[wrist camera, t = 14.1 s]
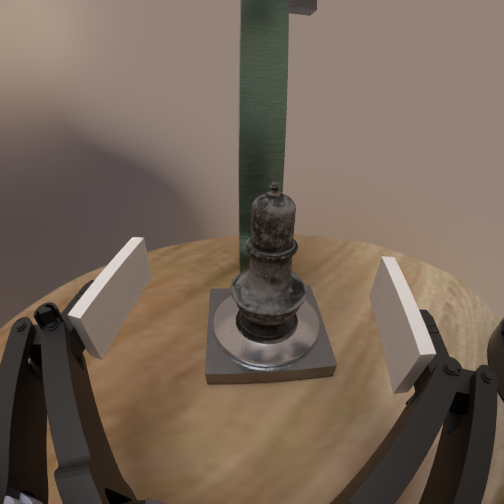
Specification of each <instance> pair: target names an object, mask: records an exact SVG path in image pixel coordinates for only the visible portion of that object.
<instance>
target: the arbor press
mask: <svg viewBox="0 0 504 504" xmlns="http://www.w3.org/2000/svg"><path fill="white" fill-rule="evenodd" d="M316 10H317V0H240V40H239V266H240V273H242V272H243V271H245V270H248V269H249V268H250V253H249V252H248V251H247V249H246V242H247V240H248V239H249V238H250V237H251V218H252V204H253V202H254V200H255V199H256V198H257V197H258V196H260V195H262V194H265V193H267V192H269V191H271V188H270V187H269V186H270V185H271V184H272V182H274V180H276V181H277V182H278V184H279V186H280V188H279V189H278V191H279V192H281V193H282V192H283V175H284V156H285V134H286V110H287V78H288V28H289V27H288V24H289V21H288V20H289V18H288V17H289V16H288V15H289V13H292V14H300V15H308V16H310V15H311V14H312V13H313V12H315V11H316ZM306 288H307V297H306V299H305V301H304V303H303V304H302V305H301V306H300V307H299V309H298V311H297V312H296V315H297V318H298V326H297V329H296V331H295V333H294V334H293V335H292V336H291V337H290V338H288V339H286V340H285V341H283V342H279V343H276V344H261V343H256V342H253V341H251V340H249V339H247V338H246V337H244V336H243V335H242V334H241V333H240V332H239V331H238V329H237V326H236V315H237V312H238V311H239V308H238V306H237V304H236V302H235V301H234V300H233V297H232V295H231V289H211V292H210V305H209V319H208V334H207V351H206V369H205V375H206V380H207V384H242V383H264V382H278V381H290V380H301V379H310V378H318V377H326V376H333V374H334V371H335V369H336V366H337V364H336V361H335V357H334V354H333V351H332V348H331V345H330V342H329V339H328V336H327V333H326V330H325V327H324V324H323V321H322V318H321V315H320V312H319V309H318V307H317V304H316V301H315V298H314V295H313V292H312V290H311V287H310V286H306Z"/></svg>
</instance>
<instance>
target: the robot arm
mask: <svg viewBox="0 0 504 504" xmlns="http://www.w3.org/2000/svg"><path fill="white" fill-rule="evenodd" d="M151 278H152V274H151V270H150V265H149V261H148V256H147V251H146V246H145V242H144V238H139V237H132V238H131V239H130V241H129V242H128V243H127V244H126V245H125V246H124V247H123V248H122V249H121V251H120V252H119V253H118V254H117V255H116V256H115V257H114V259H113V260H112V261H111V262H110V263H109V264H108V265H107V266H106V268H105V269H104V270H103V271H102V272H101V274H100V275H99V276H98V277H97V278H96V279H95V281H94V280H91V281H90V282H88V283H87V284H85V285H84V286H83V287H82V288H81V290H80V291H79V293H77V294H76V296H75V297H74V299H72V301H71V302H70V303H69V304H68V306H67V307H66V308H65V310H64V311H63V312H62V313H61V314H60V312H59V310H58V308H57V306H56V305H55V304H54V303H51V302H49V303H45V304H43V305H41V306H39V307H38V308H37V309H36V311H35V312H34V318H35V320H36V321H37V323H38V325H33V323H32V322H31V320H30V319H29V318H28V317H23V318H20V319H18V320H17V321H16V322H15V323H14V324H13V326H12V328H11V331H10V334H9V337H8V340H7V344H6V347H5V350H4V354H3V357H2V361H1V365H0V504H48V476H47V454H46V434H47V414H48V420H49V425H50V430H51V435H52V440H53V444H54V449H55V453H56V457H57V461H58V465H59V466H58V469H56V470H55V473H54V476H55V481H56V484H57V487H58V491H59V494H60V496H61V499H62V502H63V504H165V503H161V502H158V501H155V500H152V499H149V498H147V499H146V500H137V499H136V497H135V495H134V493H133V491H132V490H131V488H130V487H129V485H128V484H127V483H126V482H125V480H124V479H123V477H122V475H121V473H120V471H119V468H118V466H117V464H116V461H115V459H114V456H113V454H112V451H111V448H110V446H109V443H108V440H107V437H106V435H105V432H104V429H103V426H102V423H101V419H100V416H99V413H98V410H97V406H96V403H95V399H94V395H93V392H92V388H91V384H90V379H89V375H88V371H87V366H86V361H85V357H84V355H83V351H84V350H85V348H86V350H87V351H88V353H89V355H90V356H92V357H95V358H99V359H103V357H104V356H105V354H106V352H107V350H108V348H109V347H110V345H111V343H112V341H113V340H114V338H115V336H116V335H117V333H118V331H119V329H120V328H121V326H122V324H123V323H124V321H125V319H126V318H127V316H128V314H129V313H130V311H131V310H132V308H133V306H134V305H135V303H136V301H137V300H138V298H139V297H140V295H141V293H142V292H143V290H144V289H145V287H146V286H147V284H148V282H149V281H150V279H151ZM369 297H370V300H371V303H372V307H373V310H374V314H375V318H376V321H377V325H378V329H379V333H380V337H381V341H382V345H383V349H384V353H385V357H386V362H387V366H388V371H389V375H390V380H391V385H392V390H393V393H404V392H408V391H409V390H410V389H411V388H412V386H413V385H414V388H415V393H414V394H413V395H412V397H411V398H410V399H409V400H408V401H407V402H406V405H407V406H406V407H405V409H404V410H403V412H402V414H401V415H400V417H399V418H398V420H397V421H396V423H395V424H394V426H393V427H392V429H391V430H390V432H389V433H388V435H387V436H386V438H385V439H384V440H383V442H382V443H381V445H380V446H379V447H378V449H377V450H376V451H375V453H374V454H373V455H372V457H371V458H370V459H369V460H368V462H367V463H366V464H365V465H364V467H363V468H362V469H361V470H360V471H359V473H358V474H357V475H356V476H355V477H354V478H353V480H352V481H351V482H350V483H349V484H348V485H347V486H346V487H345V489H344V490H343V491H342V492H341V493H340V494H339V495H338V496H337V497H336V498H335V499H334V500H333V501H332V502H331V503H330V504H395V503H396V501H397V500H398V498H399V497H400V496H401V494H402V493H403V491H404V490H405V489H406V487H407V486H408V484H409V483H410V481H411V480H412V478H413V476H414V475H415V473H416V472H417V470H418V468H419V467H420V465H421V463H422V462H423V460H424V458H425V457H426V455H427V453H428V451H429V449H430V448H431V446H432V444H433V442H434V440H435V438H436V436H437V434H438V432H439V430H440V428H441V426H442V424H443V428H442V432H441V436H440V440H439V444H438V448H437V452H436V455H435V459H434V462H433V466H432V469H431V472H430V475H429V478H428V481H427V484H426V487H425V489H424V492H423V495H422V497H421V500H420V502H419V504H481V502H482V499H483V495H484V492H485V488H486V483H487V479H488V475H489V470H490V464H491V459H492V453H493V446H494V438H495V429H496V416H497V389H498V391H499V392H500V394H501V396H502V398H503V399H504V318H503V319H502V320H501V322H500V323H499V325H498V326H497V328H496V329H495V331H494V332H493V334H492V336H491V338H490V341H489V346H488V360H489V366H488V365H481V366H479V368H478V369H477V370H476V371H470V370H466V369H462V366H461V365H460V363H459V362H458V361H457V360H456V359H454V358H452V357H449V355H448V352H447V350H446V347H445V345H444V342H443V340H442V337H441V335H440V334H439V330H438V328H437V327H436V323H435V321H434V319H433V317H432V316H431V315H430V313H429V312H428V311H427V310H419V309H418V306H417V304H416V302H415V300H414V297H413V295H412V293H411V291H410V289H409V287H408V284H407V282H406V280H405V278H404V276H403V274H402V272H401V270H400V268H399V266H398V264H397V262H396V260H395V258H394V257H384V256H382V257H381V260H380V264H379V267H378V270H377V274H376V277H375V280H374V283H373V286H372V289H371V292H370V295H369ZM29 358H30V362H29V363H28V359H29ZM443 422H444V423H443Z"/></svg>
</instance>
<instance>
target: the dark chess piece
mask: <svg viewBox="0 0 504 504" xmlns="http://www.w3.org/2000/svg"><path fill="white" fill-rule="evenodd" d="M269 187H270V188H271V191H269V192H267V193H265V194H262V195H260V196H258V197H257V198H256V199H255V200H254V202H253V204H252V218H251V237H250V238H249V239H248V240H247V242H246V249H247V251H248V252H249V253H250V268H249V269H248V270H245V271H243V272H242V273H240V274H239V275H238V276H237V277H236V278H235V279H234V280H233V282H232V284H231V295H232V297H233V300H234V301H235V302H236V304H237V306H238V308H239V311H238V312H237V315H236V326H237V329H238V331H239V332H240V333H241V334H242V335H243V336H244V337H246V338H247V339H249V340H251V341H253V342H256V343H261V344H276V343H279V342H283V341H285V340H286V339H288V338H290V337H291V336H292V335H293V334H294V333H295V331H296V329H297V326H298V318H297V315H296V312H297V311H298V309H299V307H300V306H301V305H302V304H303V303H304V301H305V299H306V297H307V288H306V285H305V283H304V282H303V280H302V279H301V278H300V277H299V276H298V275H296V274H295V273H293V272H291V264H292V255H294V254H295V253H296V251H297V249H298V245H297V242H296V241H295V240H294V239H293V234H294V223H295V212H296V207H295V203H294V202H293V201H292V199H291V198H290V197H288V196H286V195H285V194H282V193H281V192H279V191H278V189H279V188H280V186H279V184H278V182H277V181H276V180H274V182H272V184H271V185H270V186H269Z"/></svg>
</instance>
